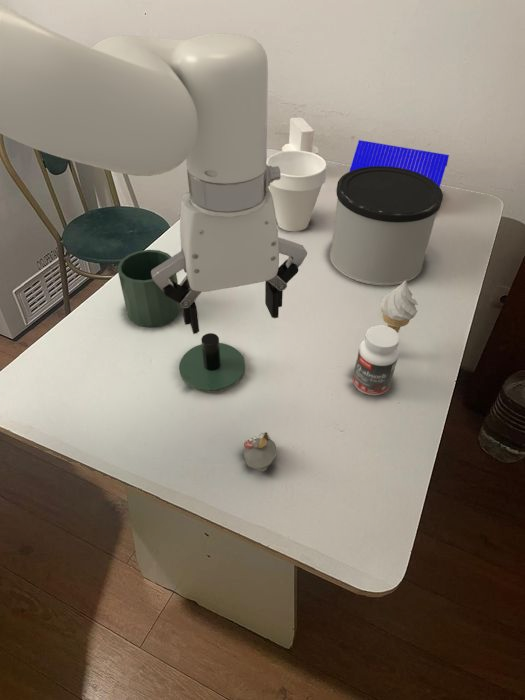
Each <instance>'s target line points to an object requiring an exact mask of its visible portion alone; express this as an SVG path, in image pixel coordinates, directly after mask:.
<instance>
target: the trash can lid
mask: <svg viewBox="0 0 525 700" xmlns="http://www.w3.org/2000/svg"><path fill="white" fill-rule="evenodd" d="M200 341H201V343H200V344H198V345H196V346H193V347H192V348H189V350H188V351H186V352H185V353H184V354H183V355H182V357H181V359H180V361H179V365H178V369H179V375H180V377H181V379H182V381H184V383H185V384H186V385H188V386H189V387H190V388H193V389H195V390H198V391H201V392H220V391H224V390H226V389H229V388H231V387H234V385H236V384H237V383H238V382H240V380H241V379H242V377H243V375H244V374H245V369H246V361H245V357H244V356H243V354H242V353H241V352H240V351H239V350H238V349H237V348H235V347H234V346H232V345H230V344H227V343H223V342H220V338H219V336H218V335H217V334H216V333H212V332H211V333H209V332H208V333H205V334H203V335H202V336H201V338H200Z"/></svg>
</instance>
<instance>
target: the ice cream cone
mask: <svg viewBox="0 0 525 700" xmlns="http://www.w3.org/2000/svg"><path fill="white" fill-rule="evenodd" d="M418 305H419V303H418V302H417V300H416V299H415V298H413V292H412V291H411V290H410V288H409V286H408V281H407V282H406V280H405V281H404V282H403V283H401V284H399V285H398V286H397V287H396V288H394V289H393V290H391V291H389V292H388V293H386V294H385V295H384V296H383V297H381V299H380V311H381V313H382V319H383V321H384V322H385V323H386V324H387V326H388V327H390V328H392V329H394V330H395V331H396V332H397V333H398V334H399V332H400V330H401V327H405V326H407V325H408V324H409V323H410V321H411V320H412V319H413V318H415V317H416V315H417V313H418V312H419V311H418V309H417V307H416V306H418Z"/></svg>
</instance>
